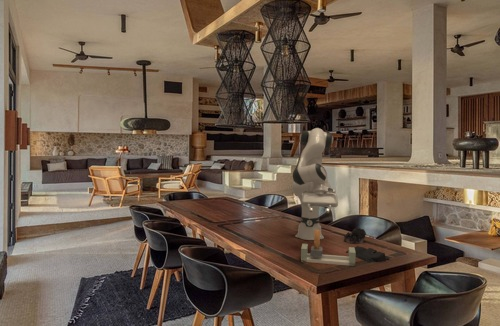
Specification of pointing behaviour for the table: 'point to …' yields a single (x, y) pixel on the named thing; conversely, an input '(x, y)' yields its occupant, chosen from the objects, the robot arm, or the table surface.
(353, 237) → the crystal cluster
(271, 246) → the table surface
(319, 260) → the rail base
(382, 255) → the dark flat rock slab
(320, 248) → the carriage
